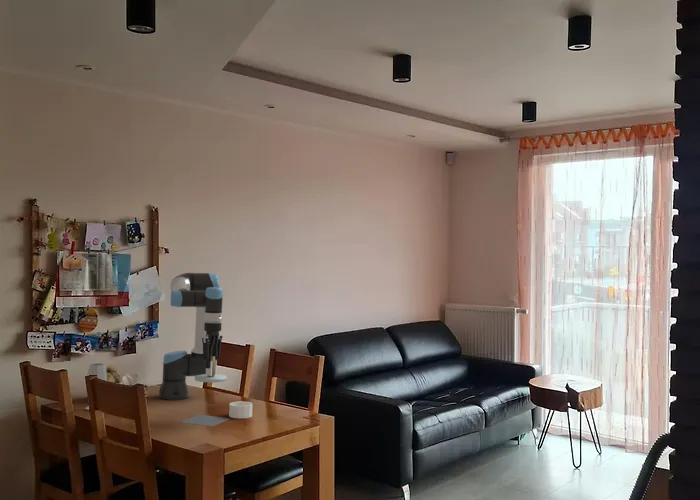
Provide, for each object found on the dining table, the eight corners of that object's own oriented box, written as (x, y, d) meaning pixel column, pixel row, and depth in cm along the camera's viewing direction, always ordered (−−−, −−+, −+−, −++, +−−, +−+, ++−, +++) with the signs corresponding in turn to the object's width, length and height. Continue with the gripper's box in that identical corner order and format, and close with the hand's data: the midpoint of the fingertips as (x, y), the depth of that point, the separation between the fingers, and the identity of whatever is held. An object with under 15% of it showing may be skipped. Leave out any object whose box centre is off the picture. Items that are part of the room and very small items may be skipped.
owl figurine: (94, 396, 335) (96, 362, 336) (119, 395, 340) (121, 362, 340) (94, 403, 319) (96, 368, 319) (120, 402, 323) (122, 367, 323)
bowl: (236, 412, 309) (236, 400, 309) (256, 415, 306) (256, 402, 306) (224, 417, 299) (225, 404, 299) (245, 420, 296) (245, 407, 296)
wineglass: (81, 409, 305) (83, 364, 305) (95, 406, 313) (97, 362, 313) (96, 412, 301) (98, 366, 302) (109, 408, 309) (111, 363, 310)
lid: (206, 375, 302) (206, 353, 302) (232, 378, 297) (233, 355, 297) (188, 380, 289) (189, 357, 289) (215, 383, 284) (216, 359, 284)
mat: (200, 415, 302) (200, 414, 302) (231, 419, 296) (231, 418, 296) (180, 423, 287) (180, 422, 287) (212, 427, 281) (212, 426, 281)
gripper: (210, 324, 284) (208, 378, 284) (229, 321, 299) (227, 373, 299) (195, 322, 287) (193, 376, 287) (215, 320, 302) (213, 371, 302)
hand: (211, 374), depth 293 cm, fingers closed on lid, 3 cm apart
